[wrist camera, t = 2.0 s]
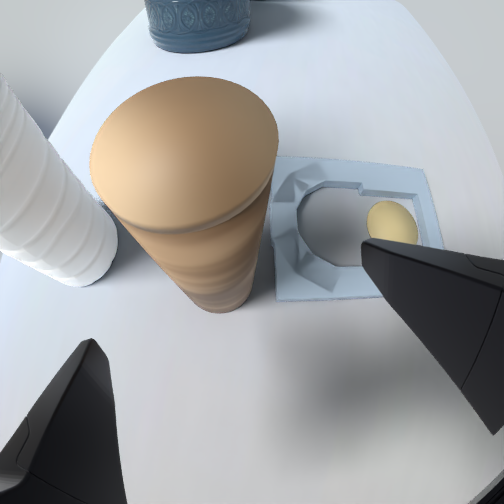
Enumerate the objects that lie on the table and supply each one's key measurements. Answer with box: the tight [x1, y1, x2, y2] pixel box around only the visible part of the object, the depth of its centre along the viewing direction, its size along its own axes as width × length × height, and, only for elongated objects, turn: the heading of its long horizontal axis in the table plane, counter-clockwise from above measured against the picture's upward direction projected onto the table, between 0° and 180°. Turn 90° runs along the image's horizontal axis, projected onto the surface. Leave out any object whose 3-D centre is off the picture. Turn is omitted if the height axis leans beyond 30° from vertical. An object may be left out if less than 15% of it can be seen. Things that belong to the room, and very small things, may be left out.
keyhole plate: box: [269, 156, 444, 302], centre depth 21 cm, size 14×11×1 cm
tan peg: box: [89, 77, 279, 313], centre depth 13 cm, size 5×5×14 cm
